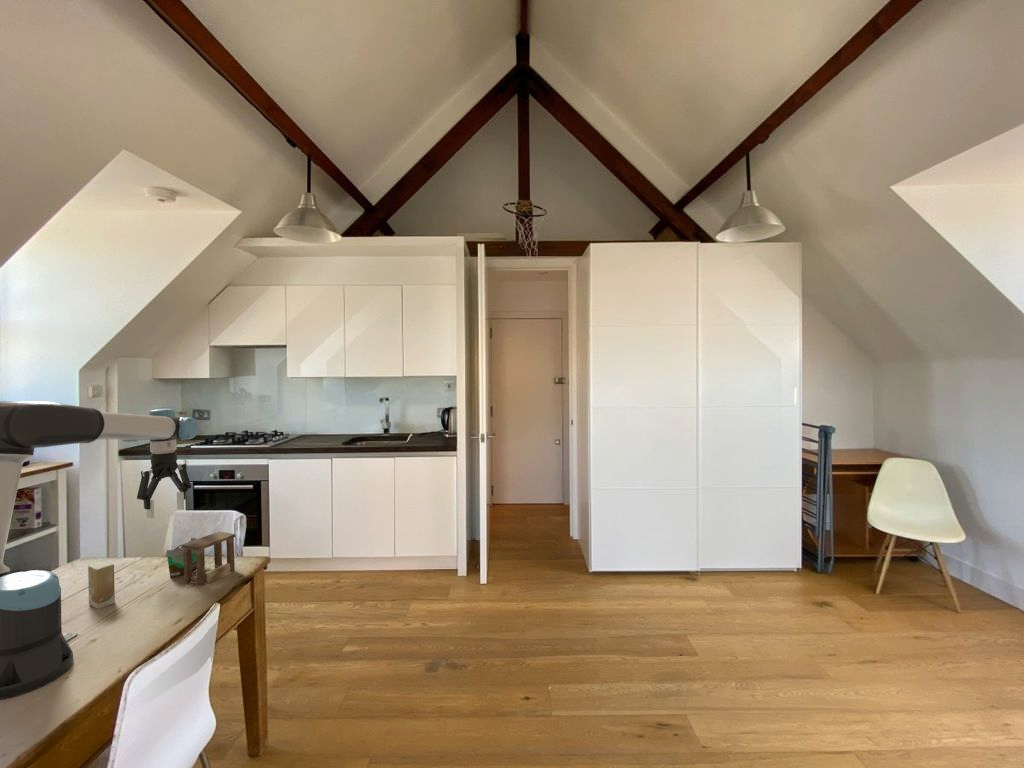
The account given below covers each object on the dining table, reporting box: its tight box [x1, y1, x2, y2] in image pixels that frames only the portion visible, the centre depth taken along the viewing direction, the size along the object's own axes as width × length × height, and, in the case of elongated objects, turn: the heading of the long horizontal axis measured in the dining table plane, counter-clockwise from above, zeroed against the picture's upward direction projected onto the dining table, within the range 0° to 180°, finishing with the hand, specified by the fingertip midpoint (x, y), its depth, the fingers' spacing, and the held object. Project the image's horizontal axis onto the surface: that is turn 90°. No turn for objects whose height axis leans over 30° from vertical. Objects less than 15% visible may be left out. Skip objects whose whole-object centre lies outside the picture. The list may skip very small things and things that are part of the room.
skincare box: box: [87, 560, 116, 610], centre depth 136 cm, size 6×4×12 cm
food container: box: [165, 537, 198, 579], centre depth 158 cm, size 12×6×10 cm, turn 179°
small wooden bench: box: [181, 531, 236, 587], centre depth 154 cm, size 13×8×13 cm, turn 159°
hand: (166, 513), depth 161 cm, fingers open, 9 cm apart
